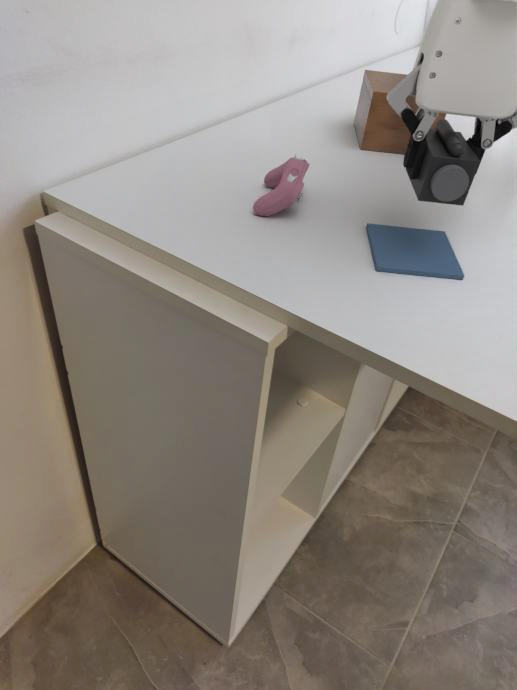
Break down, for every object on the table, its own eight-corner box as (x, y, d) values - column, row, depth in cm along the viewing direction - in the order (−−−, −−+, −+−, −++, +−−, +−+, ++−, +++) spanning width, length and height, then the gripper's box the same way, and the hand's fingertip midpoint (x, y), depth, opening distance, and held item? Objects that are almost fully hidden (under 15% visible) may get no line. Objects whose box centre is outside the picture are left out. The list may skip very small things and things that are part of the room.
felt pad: (443, 235, 68) (445, 231, 68) (462, 280, 61) (464, 275, 60) (365, 227, 68) (367, 222, 67) (375, 271, 60) (377, 266, 60)
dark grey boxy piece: (444, 171, 62) (463, 117, 58) (465, 209, 55) (487, 151, 51) (404, 166, 62) (419, 112, 58) (419, 204, 55) (438, 145, 51)
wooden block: (419, 131, 97) (434, 77, 91) (432, 157, 88) (450, 100, 82) (353, 123, 96) (364, 69, 90) (360, 149, 87) (373, 91, 81)
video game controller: (278, 232, 68) (311, 190, 63) (248, 212, 67) (279, 168, 62) (289, 198, 75) (318, 158, 71) (262, 179, 74) (290, 138, 70)
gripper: (581, -19, 49) (502, 171, 61) (399, -43, 48) (355, 154, 60) (620, -6, 43) (524, 201, 55) (413, -32, 43) (362, 183, 55)
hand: (436, 175), depth 58 cm, fingers closed on dark grey boxy piece, 4 cm apart
